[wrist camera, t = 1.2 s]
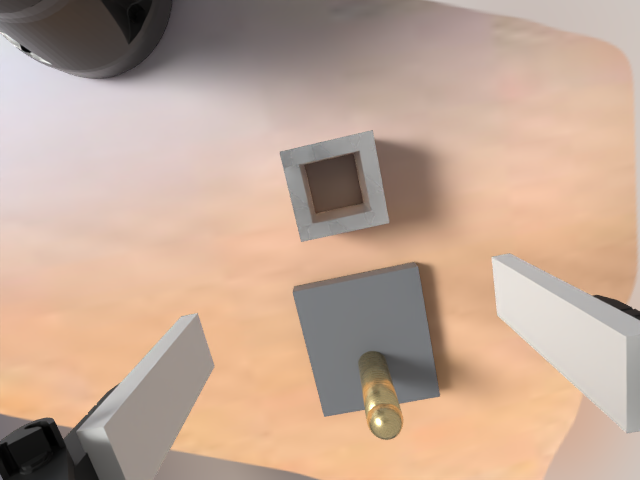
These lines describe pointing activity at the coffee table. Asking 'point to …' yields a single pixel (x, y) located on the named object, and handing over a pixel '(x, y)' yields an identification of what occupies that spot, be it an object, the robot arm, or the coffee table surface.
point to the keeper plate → (367, 334)
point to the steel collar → (345, 217)
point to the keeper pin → (379, 396)
